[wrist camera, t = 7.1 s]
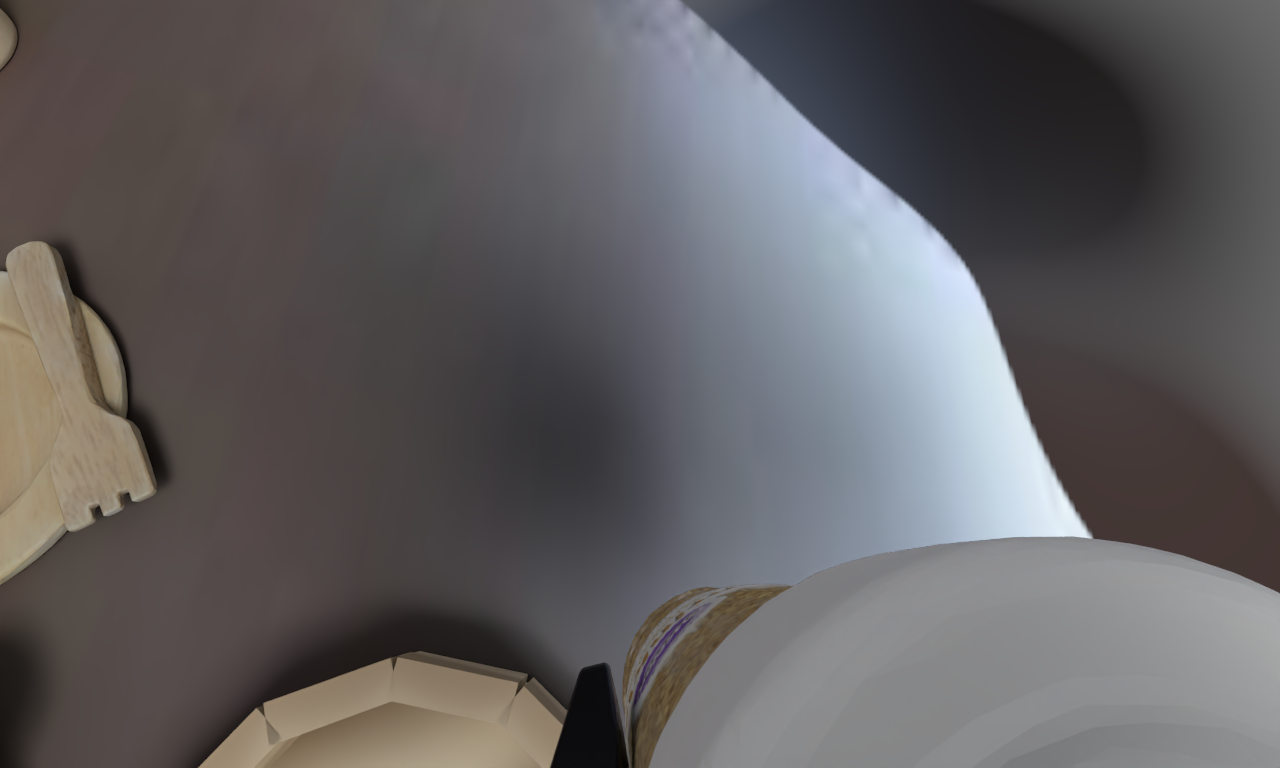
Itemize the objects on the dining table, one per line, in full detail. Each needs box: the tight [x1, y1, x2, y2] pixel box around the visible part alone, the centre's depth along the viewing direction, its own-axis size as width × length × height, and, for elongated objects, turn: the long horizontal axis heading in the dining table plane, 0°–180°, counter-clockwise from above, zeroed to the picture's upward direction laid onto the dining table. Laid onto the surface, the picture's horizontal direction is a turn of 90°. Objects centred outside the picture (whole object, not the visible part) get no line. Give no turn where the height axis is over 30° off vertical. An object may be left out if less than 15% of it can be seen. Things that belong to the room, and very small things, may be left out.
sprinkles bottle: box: [623, 537, 1280, 768], centre depth 8 cm, size 5×5×13 cm
